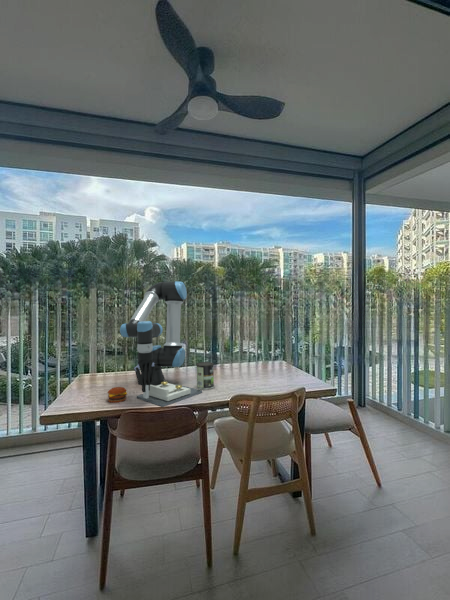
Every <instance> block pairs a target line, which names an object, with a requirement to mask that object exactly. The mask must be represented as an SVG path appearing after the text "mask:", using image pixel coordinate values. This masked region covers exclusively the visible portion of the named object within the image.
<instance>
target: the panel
mask: <svg viewBox="0 0 450 600" xmlns="http://www.w3.org/2000/svg"><path fill="white" fill-rule="evenodd" d="M190 393H191V389H189V388H185V387H182V388H180V391H179V392H178V391H177V388H175V385H174V383H169V382H168V384H166V387H163V385H162V384H159V385H150V390H149V396H153V397H156V398H159V399H162V400H165V401H170V400H173V399H176V398H179V397H181V396H184V395H187V394H190Z"/></svg>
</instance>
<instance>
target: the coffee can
mask: <svg viewBox="0 0 450 600" xmlns="http://www.w3.org/2000/svg"><path fill="white" fill-rule="evenodd" d="M195 365H196V389H198V390H202V391H203V390H211V388H212V389H213V388H215V384H214V383H215V382H214V381H215V380H214V379H215V377H214V376H215V375H214V372H215V371H214V362H211V361H202V362H198V363H196V364H195Z"/></svg>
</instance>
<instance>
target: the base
mask: <svg viewBox="0 0 450 600" xmlns="http://www.w3.org/2000/svg"><path fill="white" fill-rule="evenodd" d="M168 383H169V382H168V381H167V380H165V381H162V382H161V384H162V385H163V387H166V384H168ZM161 384H160V385H161ZM173 385H175V388H177V391H178V392H179V391H180V388H182V387H185V388H189V389H191V393H190V394H187V395H184V396H181V397H179V398H176V399H173V400H170V401H165V400H162V399H159V398H156V397H153V396H149V398H147V399H146V398H143V393H141V394H137V395H136V399H139V400H141V401H145V402H147V403H151V404H153V405H156V406H159V407H161V408H163V407H166V406H169V405H172V404H175V403H177V402H180V401H183V400H186V399H189V398H191V397H194V396H197V395H200V394H203V389H198V388H194V387H189V386H186V385H183V384H178V383H176V384H174V383H173Z"/></svg>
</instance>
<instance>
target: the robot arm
mask: <svg viewBox="0 0 450 600" xmlns="http://www.w3.org/2000/svg"><path fill="white" fill-rule="evenodd" d="M187 294H188V293H187V287H186V285H185V283H184V282H183V281H158V282H156V283H154V284H153V285H151V286H150V287H149V288H148V289H147V290H146V291H145V292H144V295H143V299H142V301H141V302H140V304H139V305H138V307H137V309H136V310H135V312H134V314H133V315H132V317H131V318H130V319H129V321H128V322H126V323H123V324H121V325H120V327H119V328H120V329H119V333H120V335H121V337H123V338H137V342H136V343H137V347H136V348H137V350H136V351H137V361H138V362H137V365H136V366H133V371H134V372H135V376H136V380H137V384H138V386H141V392H142V394H143V398H146V399H147V398H149V390H150V385H154V386H157V385H161V382H162V381H166V380H165V375H164V373H163V370H162V367H165V368H167V367H169V368H180V367H181V366H182V365H183V364H184V362H185V357H186V349H185V348H184V347H183V344H182V343H181V341H180V340H181V313H182V312H181V311H182V309H181V308H182V304H183V303H184V300H186V299H187V296H188V295H187ZM159 301H164V302H165V304H166V305H167V307H166V310H167V311H166V332H165V333H166V335H165V336H166V337H165V343H164V344H163V347H162V345H161V344H160V345H159V344H158V345H157V344H155V345H153V341H154V340H153V339H154V338H158V337H159V336H160V335H162V334H163V330H164V329H163V326H162V325H161V324H160V323H158V322H152V321H150V320H147V318H148V317H149V315H150V314H151V312H152V310H153V309H154V306H155V305H156V304H157V303H158V302H159Z"/></svg>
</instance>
